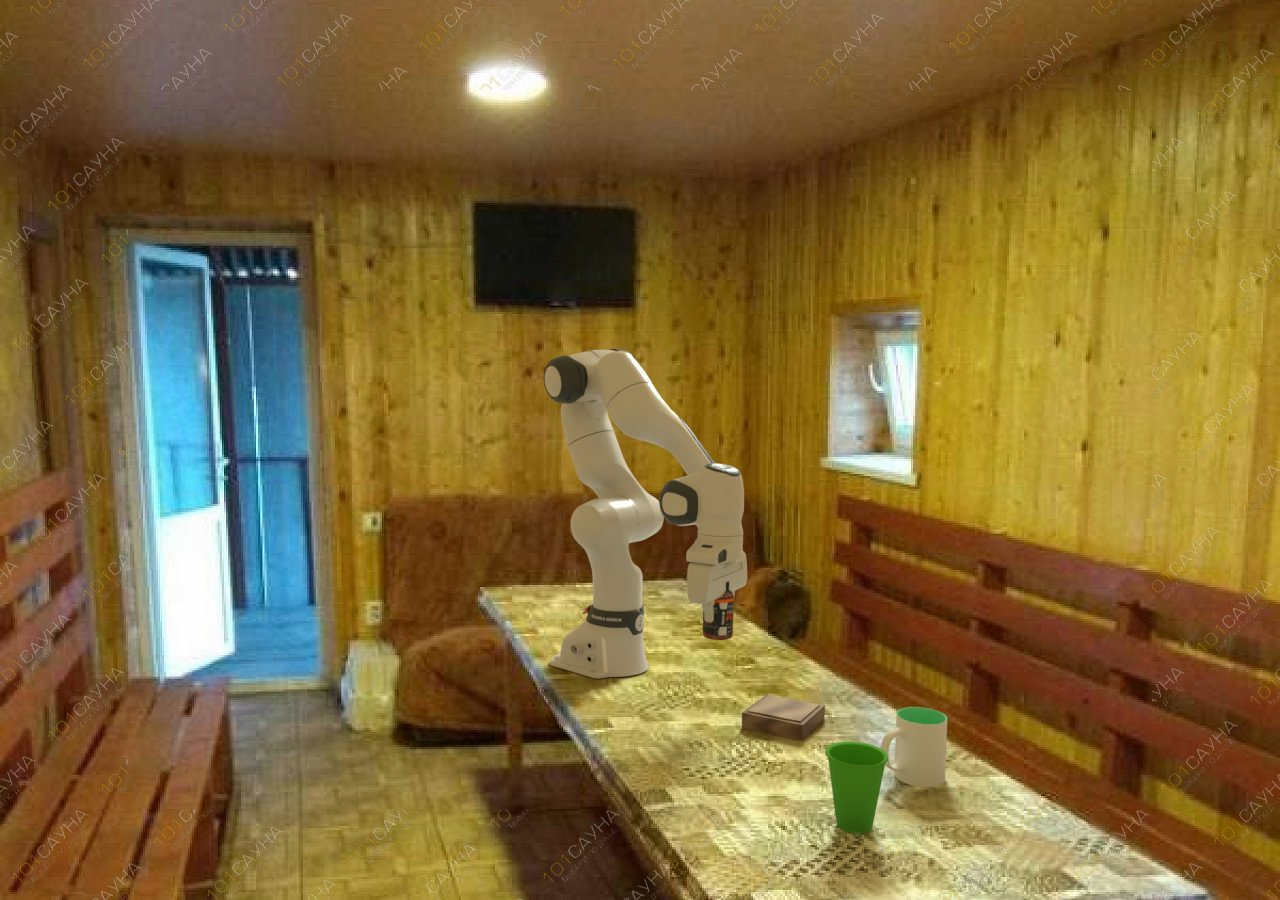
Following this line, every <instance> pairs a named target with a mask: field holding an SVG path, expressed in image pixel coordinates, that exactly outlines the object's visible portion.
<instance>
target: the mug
mask: <svg viewBox="0 0 1280 900" xmlns="http://www.w3.org/2000/svg"><path fill="white" fill-rule="evenodd" d="M895 718H896V720H895V722H896V723H895V728H891V729H890V730H888V731H887V732H886V733H885V735H884V736H883V737H882V739H881V744H880V748H881V749H882V750H884V751H885V752H886V753H887V755H888V756H889V752H890V751H889V750H890V745H891V742H892V741H893V740H894V739H895V743H894V744H895V745H894V748H895V752H894V763H893V764H891V763H890V762H891V761H890V759H889V757H888V761H887V762H886V763H885V767H886V768H887V769H889V770H891V771H894V776H895V778H896V779H897V780H899V781H900V782H902V783H904V784H907V785H910V786H915V787H921V788H936V787H938V786H942V785H943V784H944V783H945V781H946V765H947V764H946V761H947V758H946V757H947V737H948V735H947V734H948V717H947V715H946V714H945V713H943V712H941V711H939V710H935V709H933V708H928V707H920V706H908V707H903V708H900V709H898V710H897V711H896V715H895Z"/></svg>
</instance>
